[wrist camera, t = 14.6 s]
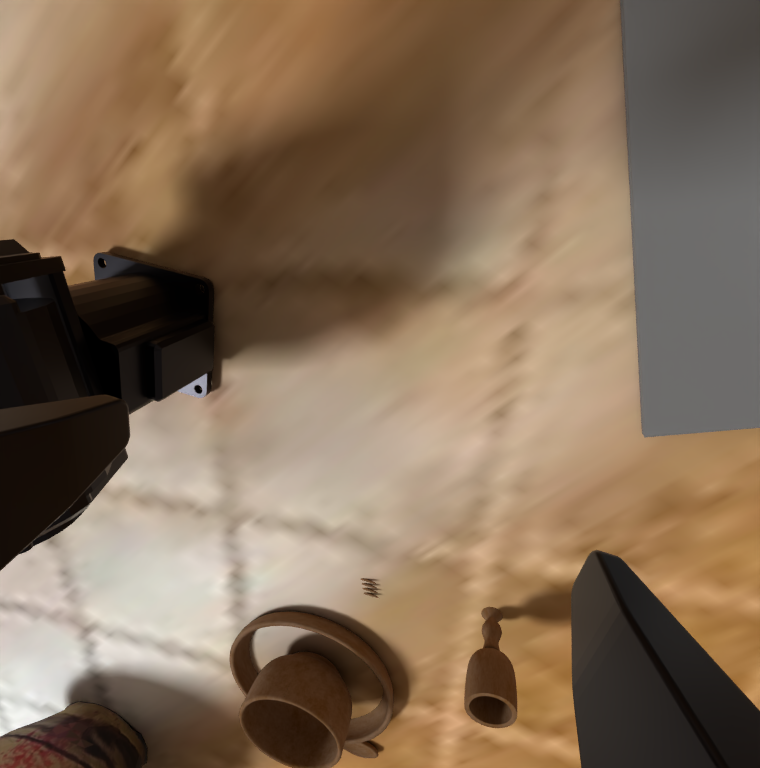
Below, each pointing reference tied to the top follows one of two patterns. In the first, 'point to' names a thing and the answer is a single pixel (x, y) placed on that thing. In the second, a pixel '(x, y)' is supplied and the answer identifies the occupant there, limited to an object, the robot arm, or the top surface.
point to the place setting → (346, 693)
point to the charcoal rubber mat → (695, 210)
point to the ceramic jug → (74, 741)
